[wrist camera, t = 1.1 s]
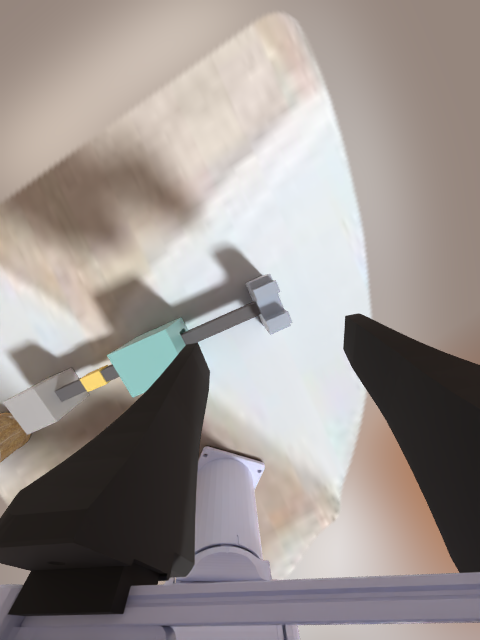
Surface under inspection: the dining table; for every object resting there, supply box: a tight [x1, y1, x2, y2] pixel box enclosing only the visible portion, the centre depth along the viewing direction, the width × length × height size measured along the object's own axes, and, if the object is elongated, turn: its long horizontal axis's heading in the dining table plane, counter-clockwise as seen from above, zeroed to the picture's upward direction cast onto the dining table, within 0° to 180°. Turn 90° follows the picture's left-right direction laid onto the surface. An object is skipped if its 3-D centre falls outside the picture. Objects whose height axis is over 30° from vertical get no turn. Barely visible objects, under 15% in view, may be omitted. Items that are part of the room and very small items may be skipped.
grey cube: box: [3, 368, 89, 435], centre depth 21 cm, size 4×4×4 cm
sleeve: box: [107, 317, 188, 397], centre depth 19 cm, size 5×4×6 cm
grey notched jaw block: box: [245, 274, 292, 335], centre depth 20 cm, size 2×5×5 cm, turn 24°
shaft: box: [55, 301, 261, 402], centre depth 20 cm, size 23×1×1 cm, turn 114°
